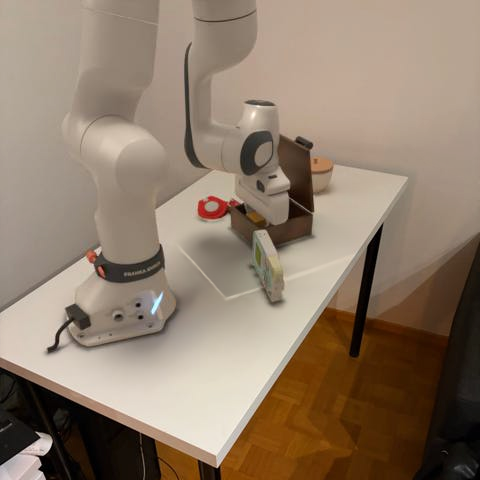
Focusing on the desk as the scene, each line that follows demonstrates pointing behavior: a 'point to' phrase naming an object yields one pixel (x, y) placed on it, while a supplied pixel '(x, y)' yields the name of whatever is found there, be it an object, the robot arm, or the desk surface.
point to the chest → (281, 233)
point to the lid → (297, 169)
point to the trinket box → (320, 173)
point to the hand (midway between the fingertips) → (259, 225)
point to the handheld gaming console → (267, 264)
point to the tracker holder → (214, 207)
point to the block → (257, 219)
